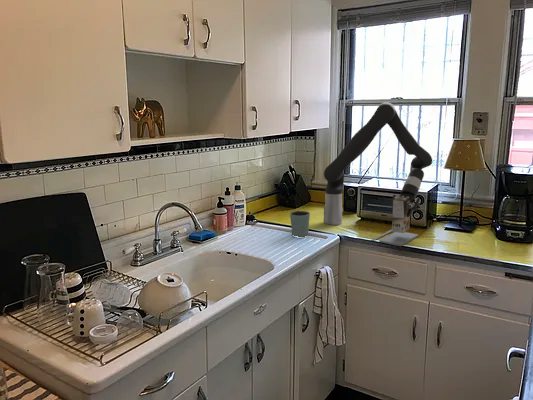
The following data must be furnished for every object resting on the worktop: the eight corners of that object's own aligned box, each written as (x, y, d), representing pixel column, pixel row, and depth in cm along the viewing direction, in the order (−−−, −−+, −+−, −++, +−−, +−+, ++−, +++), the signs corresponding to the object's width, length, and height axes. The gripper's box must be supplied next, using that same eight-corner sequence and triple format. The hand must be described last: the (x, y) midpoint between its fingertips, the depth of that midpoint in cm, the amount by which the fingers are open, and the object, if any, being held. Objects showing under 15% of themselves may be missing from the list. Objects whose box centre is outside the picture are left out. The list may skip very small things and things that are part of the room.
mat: (379, 241, 221) (379, 240, 220) (397, 232, 235) (397, 230, 235) (400, 246, 214) (400, 244, 213) (418, 236, 228) (418, 234, 228)
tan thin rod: (370, 240, 223) (370, 239, 223) (390, 230, 239) (390, 229, 239) (373, 241, 222) (373, 240, 222) (393, 230, 238) (393, 230, 238)
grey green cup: (295, 239, 227) (295, 216, 224) (286, 234, 236) (286, 211, 234) (313, 236, 231) (313, 214, 228) (304, 231, 240) (304, 209, 237)
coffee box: (404, 233, 218) (406, 201, 214) (391, 231, 221) (392, 199, 217) (409, 228, 225) (411, 197, 222) (396, 226, 229) (398, 195, 225)
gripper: (395, 181, 228) (384, 209, 222) (423, 184, 219) (412, 213, 213) (399, 190, 233) (388, 217, 227) (427, 193, 224) (416, 221, 218)
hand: (400, 215), depth 220 cm, fingers closed on coffee box, 7 cm apart
